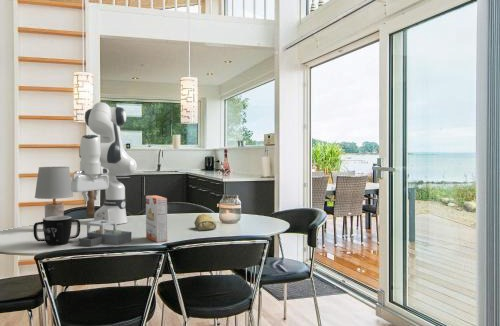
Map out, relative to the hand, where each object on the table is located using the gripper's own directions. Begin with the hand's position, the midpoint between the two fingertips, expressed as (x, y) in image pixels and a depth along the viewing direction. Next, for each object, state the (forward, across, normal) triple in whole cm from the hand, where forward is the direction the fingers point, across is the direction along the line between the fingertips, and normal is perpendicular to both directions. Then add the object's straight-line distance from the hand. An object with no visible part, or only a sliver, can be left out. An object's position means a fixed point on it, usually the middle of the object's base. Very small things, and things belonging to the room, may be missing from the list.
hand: (90, 200), depth 195 cm
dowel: (+7, 0, 0) cm, 7 cm away
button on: (+20, +10, -7) cm, 23 cm away
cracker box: (+20, +21, -21) cm, 36 cm away
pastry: (+20, +57, -28) cm, 66 cm away
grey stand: (+20, +10, -2) cm, 22 cm away
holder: (+20, 0, 0) cm, 20 cm away
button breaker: (+20, +10, +2) cm, 22 cm away
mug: (+20, -5, +15) cm, 26 cm away
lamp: (+20, +20, +44) cm, 52 cm away
